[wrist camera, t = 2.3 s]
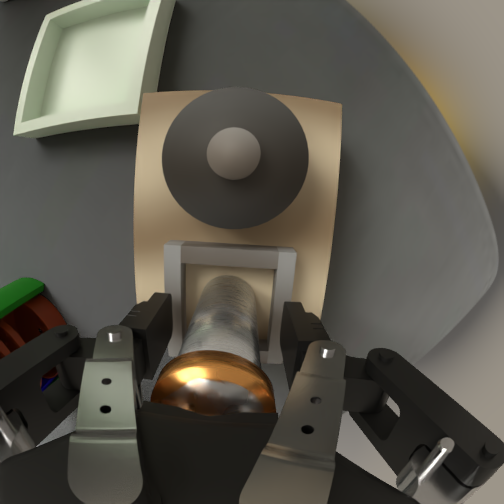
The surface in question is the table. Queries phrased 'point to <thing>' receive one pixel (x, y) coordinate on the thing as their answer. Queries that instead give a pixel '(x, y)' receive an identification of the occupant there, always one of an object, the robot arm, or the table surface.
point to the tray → (93, 66)
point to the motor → (26, 319)
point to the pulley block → (236, 201)
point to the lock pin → (219, 356)
